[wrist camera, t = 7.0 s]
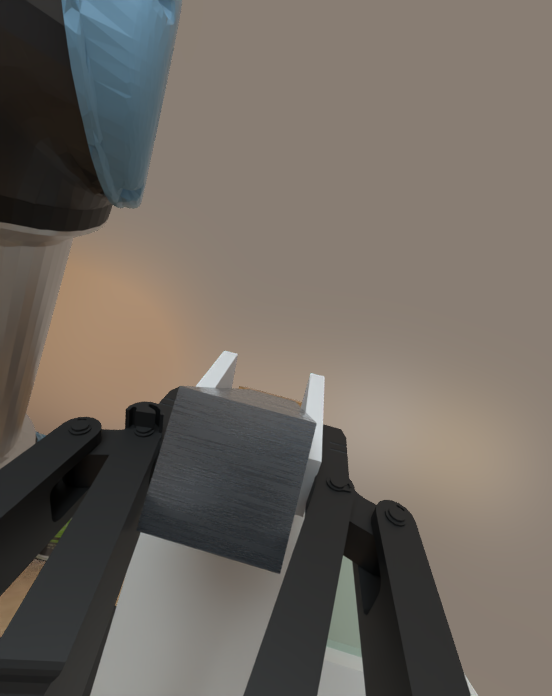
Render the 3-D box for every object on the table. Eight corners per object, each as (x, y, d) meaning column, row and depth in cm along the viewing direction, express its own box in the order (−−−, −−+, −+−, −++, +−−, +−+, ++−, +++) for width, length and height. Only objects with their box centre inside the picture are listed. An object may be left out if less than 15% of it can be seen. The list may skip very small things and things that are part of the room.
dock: (399, 1262, 14) (515, 541, 18) (-25, 1081, 15) (165, 442, 19) (342, 827, 28) (413, 475, 31) (123, 752, 29) (216, 420, 33)
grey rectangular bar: (317, 585, 8) (352, 432, 9) (101, 520, 9) (146, 376, 9) (293, 442, 32) (303, 402, 33) (235, 425, 33) (245, 387, 33)
